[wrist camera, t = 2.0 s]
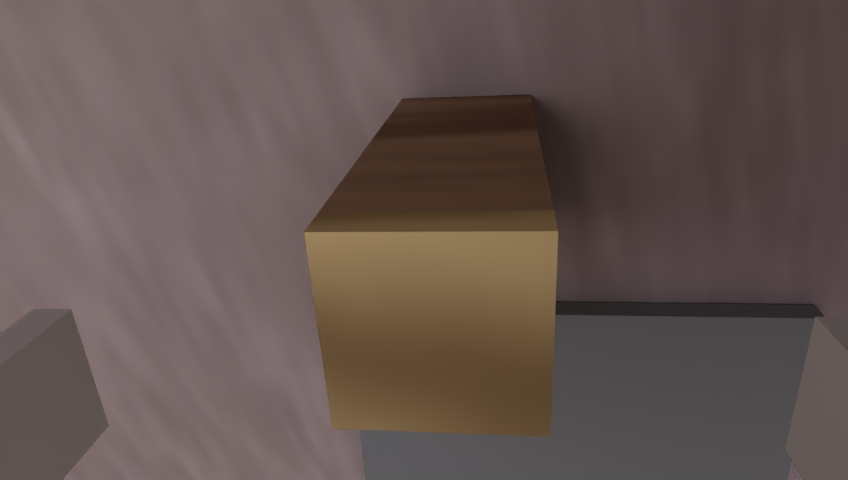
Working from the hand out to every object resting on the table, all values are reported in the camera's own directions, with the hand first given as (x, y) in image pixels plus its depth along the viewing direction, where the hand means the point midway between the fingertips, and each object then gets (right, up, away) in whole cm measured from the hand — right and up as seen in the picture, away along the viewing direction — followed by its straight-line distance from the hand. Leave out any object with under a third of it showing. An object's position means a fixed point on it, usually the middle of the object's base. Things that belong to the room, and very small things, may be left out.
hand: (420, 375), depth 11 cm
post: (+2, +5, +11) cm, 13 cm away
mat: (+6, -8, +17) cm, 20 cm away
